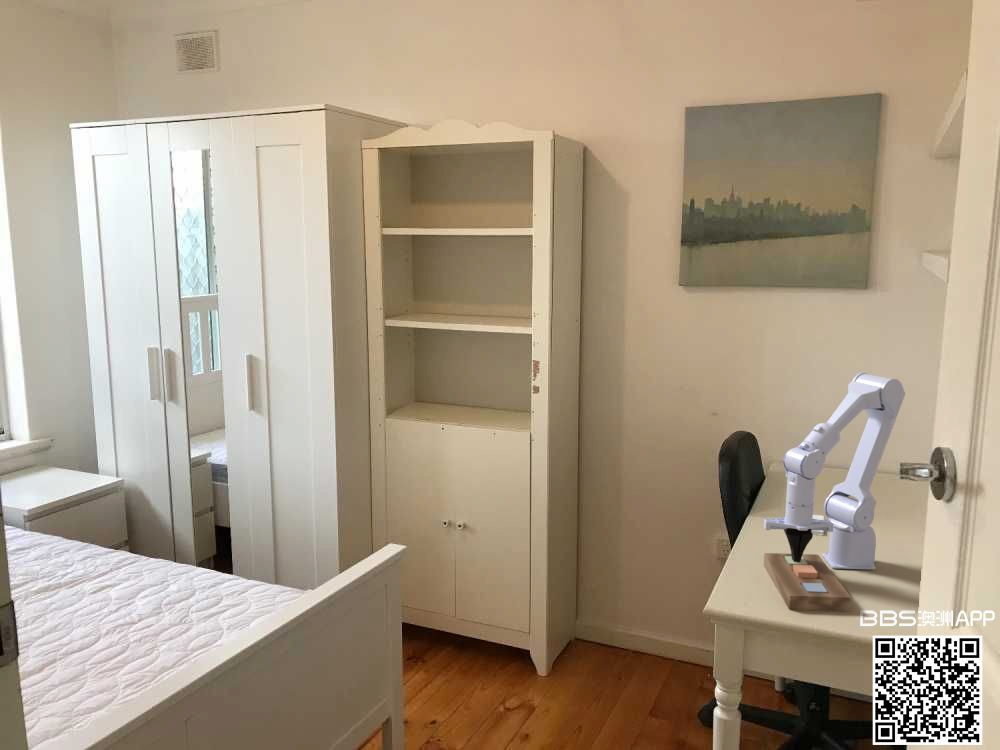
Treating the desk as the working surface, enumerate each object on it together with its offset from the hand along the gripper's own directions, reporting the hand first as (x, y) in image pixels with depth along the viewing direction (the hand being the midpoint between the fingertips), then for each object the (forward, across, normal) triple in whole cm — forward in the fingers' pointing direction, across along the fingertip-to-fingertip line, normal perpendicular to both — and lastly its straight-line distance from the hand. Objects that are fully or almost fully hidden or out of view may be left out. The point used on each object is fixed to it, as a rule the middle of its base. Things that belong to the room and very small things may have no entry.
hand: (796, 560), depth 181 cm
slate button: (+2, 0, -14) cm, 14 cm away
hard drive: (+4, +11, +31) cm, 33 cm away
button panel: (+3, 0, -7) cm, 8 cm away
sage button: (+2, 0, 0) cm, 2 cm away
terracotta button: (+1, 0, -7) cm, 7 cm away
